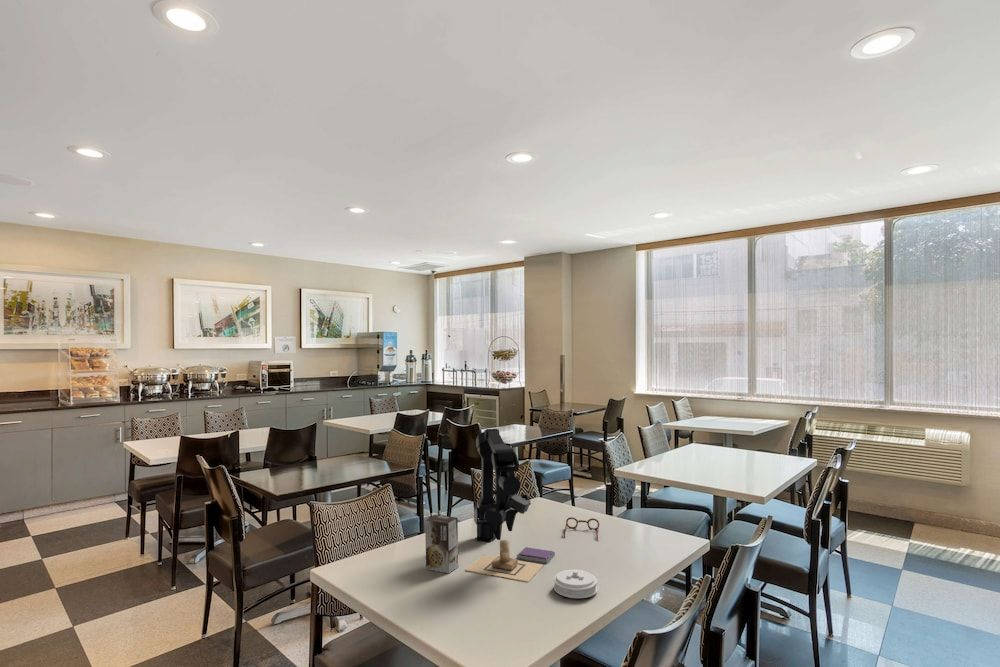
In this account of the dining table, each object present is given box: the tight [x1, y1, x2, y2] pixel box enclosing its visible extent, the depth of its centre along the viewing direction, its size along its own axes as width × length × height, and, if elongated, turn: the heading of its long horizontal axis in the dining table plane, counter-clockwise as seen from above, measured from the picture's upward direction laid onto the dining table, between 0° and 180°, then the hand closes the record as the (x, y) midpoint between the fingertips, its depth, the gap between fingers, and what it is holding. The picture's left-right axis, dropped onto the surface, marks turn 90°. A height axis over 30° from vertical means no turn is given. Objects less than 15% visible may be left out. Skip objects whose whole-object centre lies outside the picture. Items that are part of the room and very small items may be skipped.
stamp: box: [492, 539, 519, 571], centre depth 174 cm, size 7×5×8 cm
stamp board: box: [464, 554, 545, 583], centre depth 174 cm, size 22×14×1 cm, turn 66°
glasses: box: [563, 516, 600, 541], centre depth 207 cm, size 13×13×5 cm
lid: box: [553, 569, 598, 599], centre depth 157 cm, size 13×13×5 cm
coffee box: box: [424, 514, 459, 574], centre depth 175 cm, size 9×6×16 cm
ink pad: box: [516, 547, 556, 564], centre depth 183 cm, size 11×8×2 cm
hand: (504, 535), depth 174 cm, fingers open, 9 cm apart
